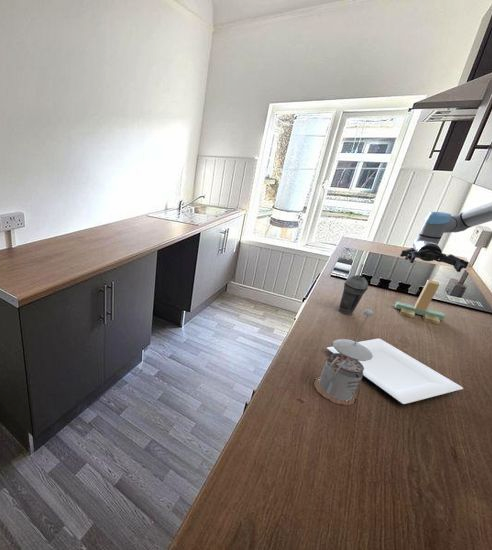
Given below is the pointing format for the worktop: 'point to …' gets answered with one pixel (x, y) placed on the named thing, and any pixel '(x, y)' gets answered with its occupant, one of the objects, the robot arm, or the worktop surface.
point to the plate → (402, 373)
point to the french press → (345, 367)
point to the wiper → (423, 301)
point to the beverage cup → (352, 293)
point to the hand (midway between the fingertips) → (435, 264)
